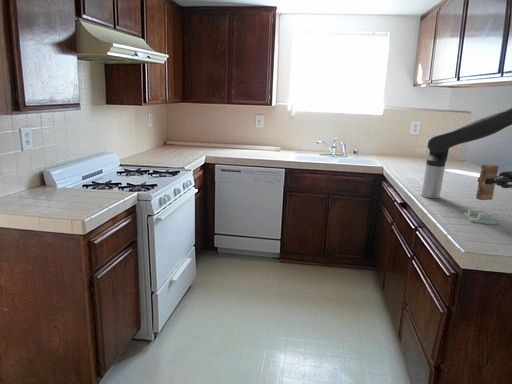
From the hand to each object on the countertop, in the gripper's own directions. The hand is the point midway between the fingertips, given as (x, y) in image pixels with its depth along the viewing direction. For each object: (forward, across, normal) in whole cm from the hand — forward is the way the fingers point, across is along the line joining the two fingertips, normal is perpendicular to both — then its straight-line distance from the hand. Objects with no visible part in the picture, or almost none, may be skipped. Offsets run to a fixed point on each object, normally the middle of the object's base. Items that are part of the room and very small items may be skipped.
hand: (482, 180), depth 174 cm
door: (-3, 0, +8) cm, 9 cm away
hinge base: (-3, 0, +18) cm, 18 cm away
